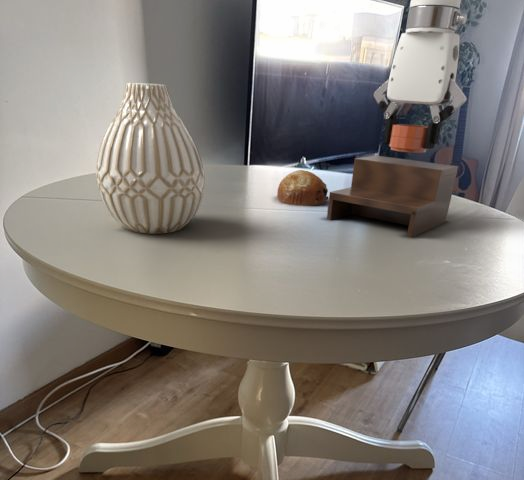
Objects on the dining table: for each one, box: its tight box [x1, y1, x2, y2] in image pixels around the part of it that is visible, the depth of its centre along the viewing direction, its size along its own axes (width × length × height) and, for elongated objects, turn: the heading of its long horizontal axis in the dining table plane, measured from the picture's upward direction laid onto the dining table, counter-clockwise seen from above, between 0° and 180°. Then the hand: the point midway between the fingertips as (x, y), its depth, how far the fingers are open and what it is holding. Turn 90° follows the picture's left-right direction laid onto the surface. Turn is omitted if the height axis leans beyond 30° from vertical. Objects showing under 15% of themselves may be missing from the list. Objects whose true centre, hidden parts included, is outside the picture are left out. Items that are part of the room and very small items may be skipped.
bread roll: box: [276, 169, 329, 207], centre depth 98 cm, size 10×10×8 cm
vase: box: [95, 82, 205, 235], centre depth 71 cm, size 16×16×20 cm
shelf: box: [326, 155, 459, 239], centre depth 85 cm, size 16×16×10 cm
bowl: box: [388, 123, 428, 154], centre depth 83 cm, size 7×7×4 cm
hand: (408, 145), depth 84 cm, fingers closed on bowl, 6 cm apart
